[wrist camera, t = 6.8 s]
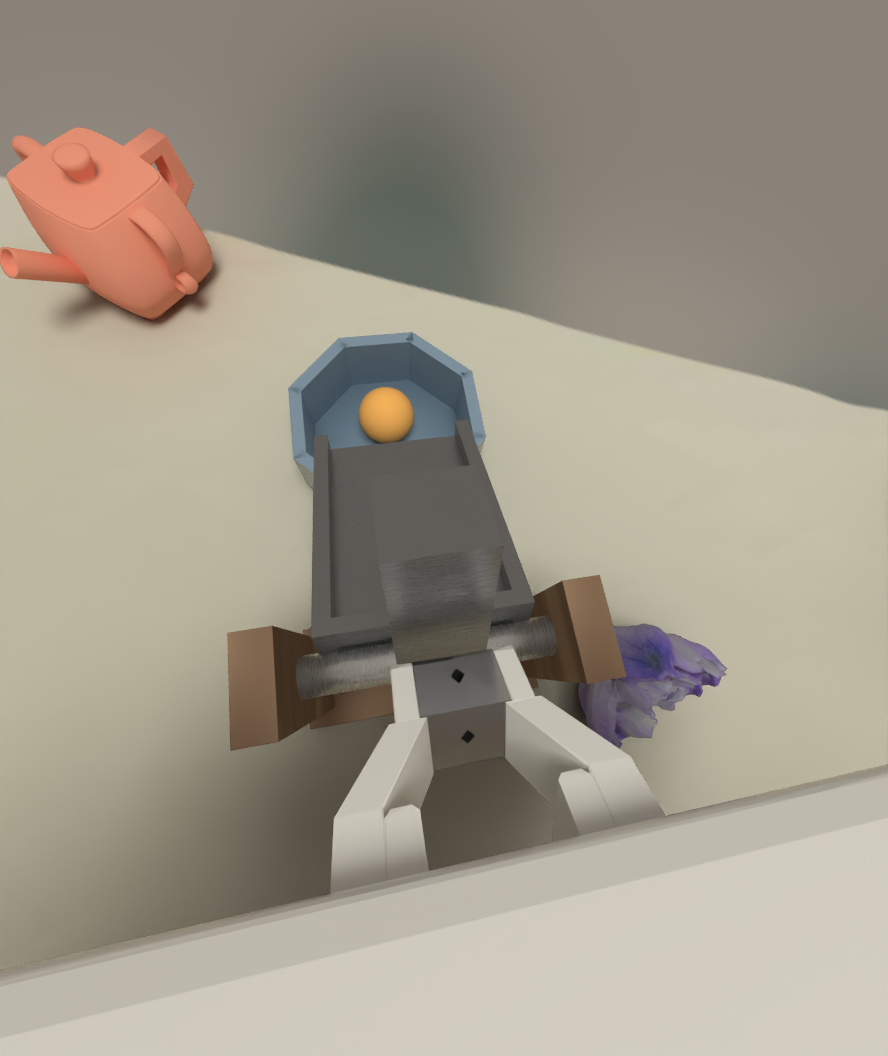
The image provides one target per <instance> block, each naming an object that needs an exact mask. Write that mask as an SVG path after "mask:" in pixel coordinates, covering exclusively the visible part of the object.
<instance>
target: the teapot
mask: <svg viewBox="0 0 888 1056" xmlns="http://www.w3.org/2000/svg"><path fill="white" fill-rule="evenodd" d="M12 147H13V149H14V150H15V152H16V153H17V155H18V156H19V157H20V159H21V160H22V162H21V163H19V164H18V165H17V166H15V167H14V168H13V169H12V170H10V171H9V172H8V173H7V180H8V183H9V185H10V187H11V189H12V191H13V192H14V194H15V196H16V198H17V200H18V202H19V203H20V205H21V207H22V209H23V211H24V212H25V214H26V216H27V218H28V219H29V221H30V222H31V224H32V226H33V227H34V229H35V230H36V232H37V233H38V235H39V236H40V238H41V239H42V241H43V242H44V243H45V245H46V246H47V247H48V249H49V250H50V251H51V252H52V254H48V253H41V252H35V251H28V250H21V249H14V248H8V247H2V248H1V249H0V264H1V267H2V269H3V271H4V272H5V274H6V275H7V276H9V277H10V278H15V279H28V280H41V281H54V282H67V283H80V284H84V285H85V286H87V287H88V288H90V289H91V290H93V291H94V292H96V293H97V294H99V295H100V296H102V297H104V298H105V299H107V300H109V301H110V302H112V303H114V304H116V305H118V306H120V307H122V308H124V309H126V310H128V311H130V312H132V313H134V314H137V315H139V316H142V317H143V318H145V319H147V320H156V319H159V318H161V317H162V316H163V315H164V314H165V311H166V310H167V309H169V308H170V307H171V306H172V305H174V304H175V303H176V302H177V301H179V300H180V299H181V298H182V297H183V296H184V295H186V294H194V293H195V292H196V291H197V289H198V283H200V282H202V281H203V280H204V279H205V277H206V275H207V274H208V273H209V272H210V270H211V269H212V253H211V249H210V246H209V244H208V242H207V240H206V238H205V236H204V234H203V233H202V231H201V229H200V227H199V226H198V224H197V223H196V221H195V220H194V218H193V217H192V215H191V214H190V212H189V211H188V209H187V208H186V205H187V202H188V199H189V196H190V193H191V191H192V188H193V185H194V184H193V182H192V180H191V179H190V177H189V175H188V173H187V172H186V170H185V168H184V166H183V165H182V163H181V161H180V160H179V158H178V156H177V154H176V153H175V151H174V149H173V147H172V146H171V144H170V142H169V140H168V139H167V137H166V136H165V135H163V134H161V133H160V132H158V131H156V130H154V129H152V128H151V127H149V128H148V129H146V130H145V131H144V132H142V133H141V134H139V135H138V136H137V137H135V138H134V139H132V140H131V141H130V142H128V143H127V144H125V145H124V146H122V145H120V144H118V143H116V142H115V141H113V140H111V139H109V138H107V137H105V136H103V135H101V134H99V133H96V132H94V131H91V130H89V129H85V128H80V127H79V128H78V127H77V128H74V129H72V130H70V131H68V132H67V133H65V134H63V135H61V136H60V137H58V138H56V139H55V140H53V141H52V142H50V143H49V144H47V145H45V146H43V145H41V144H40V143H38V142H36V141H35V140H33V139H31V138H29V137H27V136H22V135H20V136H16V137H14V138H13V140H12ZM154 162H155V164H156V166H157V168H158V170H159V172H160V174H161V175H160V174H159V172H158V171H156V170H155V169H154V168H153V167H152V166H151V165H152V164H153V163H154Z"/></svg>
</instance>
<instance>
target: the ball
mask: <svg viewBox="0 0 888 1056" xmlns="http://www.w3.org/2000/svg"><path fill="white" fill-rule="evenodd" d="M359 421H360V424H361V427H362V429H363V430H364V432H365V433H366V434H367V435H368V436H369V437H370V438H371V439H373V440H375V441H377V442H380V443H392V442H397V441H399V440H401V439H403V438H404V437H405V436H406V435H407V434H408V433H409V431H410V430H411V428H412V425H413V421H414V411H413V407H412V405H411V403H410V401H409V399H408V398H407V397H406V396H405V395H404V394H403V393H402V392H400V391H399V390H397V389H394V388H390V387H380V388H377V389H374V390H372V391H371V392H369V393H368V394H367V395H366V396H365V397H364V399H363V400H362V402H361V404H360V408H359Z"/></svg>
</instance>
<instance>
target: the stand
mask: <svg viewBox="0 0 888 1056" xmlns="http://www.w3.org/2000/svg"><path fill="white" fill-rule="evenodd" d="M533 598H534V601H535V604H534V607H533V610H532V614H531V617H530V618H534V617H541V616H548V617H549V618H550V620H551V622H552V624H553V626H554V629H555V633H556V637H557V653H556V654H555V655H552V656H546V657H541V658H535V659H529V660H524V661H520V663H521V665H522V668H523V670H524V672H525V674H526V677H527V679H528V681H529V683H530V686H531V688H536V687H538V683H537V679H536V678H539V679H548V680H557V681H566V682H575V683H583V684H590V683H595V682H600V681H606V680H611V679H616V678H622V677H627V676H626V672H625V669H624V665H623V661H622V657H621V654H620V650H619V646H618V642H617V639H616V635H615V631H614V627H613V624H612V620H611V616H610V612H609V609H608V605H607V601H606V597H605V594H604V590H603V586H602V582H601V579H600V575H596V576H590V577H583V578H577V579H571V580H564V581H561V582H559V583H557V584H555V585H554V586H552V587H550V588H548V589H546V590H544V591H542V592H540V593H539V594H537V595H535V596H533ZM227 637H228V674H229V711H230V749H231V751H232V750H237V749H243V748H248V747H253V746H259V745H264V744H269V743H275V742H279V741H281V740H282V739H284V738H285V737H287V736H289V735H290V734H292V733H294V732H295V731H297V730H299V729H300V728H302V727H304V726H305V725H307V724H309V723H310V729H314V728H320V727H325V726H331V725H336V724H341V723H347V722H352V721H358V720H363V719H368V718H374V717H379V716H385V715H390V714H394V707H393V695H392V684H388V685H382V686H377V687H371V688H366V689H360V690H354V691H349V692H343V693H337V694H332V695H326V696H320V697H315V698H309V699H303V700H302V699H301V698H300V696H299V692H298V688H297V680H296V665H297V659H298V657H299V656H304V655H310V654H316V653H318V651H317V649H316V647H315V645H314V643H313V641H312V638H311V629H309V630H303V634H299V633H296V632H292V631H288V630H285V629H281V628H278V627H274V626H269V627H262V628H256V629H249V630H243V631H236V632H230V633H227Z"/></svg>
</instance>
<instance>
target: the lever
mask: <svg viewBox="0 0 888 1056" xmlns="http://www.w3.org/2000/svg"><path fill="white" fill-rule="evenodd" d="M534 604H535V601H534V598H533V595H532V593H531V590H530V587H529V585H528V582H527V579H526V576H525V574H524V571H523V568H522V566H521V563H520V560H519V558H518V555H517V552H516V549H515V547H514V544H513V541H512V539H511V536H510V533H509V531H508V528H507V525H506V522H505V520H504V517H503V514H502V512H501V509H500V506H499V504H498V501H497V498H496V495H495V493H494V490H493V487H492V485H491V482H490V479H489V477H488V474H487V471H486V468H485V466H484V463H483V460H482V458H481V455H480V452H479V450H478V447H477V444H476V441H475V439H474V436H473V433H472V431H471V428H470V425H469V423H468V420H460V421H455V436H447V437H438V438H429V439H420V440H411V441H401V442H392V443H383V444H374V445H365V446H356V447H347V448H338V449H331V447H330V443H329V439H328V435H318V436H314V483H313V552H312V621H311V638H312V641H313V643H314V645H315V647H316V649H317V651H318V653H316V654H310V655H304V656H299V657H298V659H297V665H296V680H297V688H298V692H299V696H300V698H301V699H302V700H303V699H309V698H315V697H320V696H326V695H332V694H337V693H343V692H349V691H354V690H360V689H366V688H371V687H377V686H382V685H388V684H391V672H390V670H391V666H392V665H399V664H406V663H412V662H416V661H423V660H430V659H436V658H443V657H450V656H454V655H459V654H465V653H470V652H476V651H481V650H487V649H492V648H497V647H503V646H508V645H511V646H512V647H513V648H514V650H515V652H516V654H517V657H518V659H519V661H524V660H529V659H535V658H541V657H546V656H552V655H555V654H556V653H557V637H556V633H555V629H554V626H553V624H552V622H551V620H550V618H549V617H548V616H541V617H534V618H530V617H531V614H532V610H533V607H534ZM412 668H413V667H412Z"/></svg>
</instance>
